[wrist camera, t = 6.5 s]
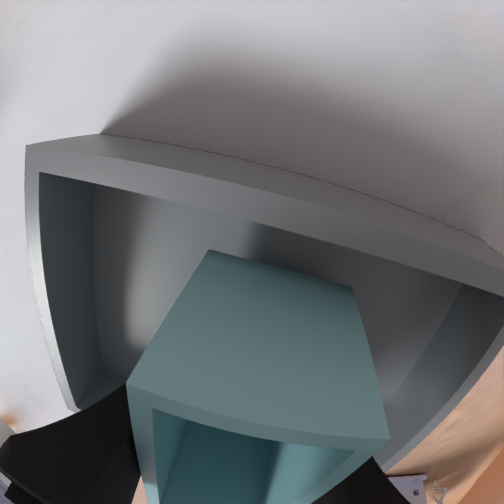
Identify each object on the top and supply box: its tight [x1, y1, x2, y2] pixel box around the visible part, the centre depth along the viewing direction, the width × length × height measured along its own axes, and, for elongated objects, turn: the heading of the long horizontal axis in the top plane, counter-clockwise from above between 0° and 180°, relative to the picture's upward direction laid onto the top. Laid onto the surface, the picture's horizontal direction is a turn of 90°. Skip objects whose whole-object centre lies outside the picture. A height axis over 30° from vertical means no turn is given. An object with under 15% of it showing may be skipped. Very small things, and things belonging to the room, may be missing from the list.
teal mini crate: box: [126, 249, 390, 504], centre depth 9 cm, size 5×9×6 cm, turn 167°
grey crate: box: [25, 134, 504, 473], centre depth 12 cm, size 18×14×4 cm
